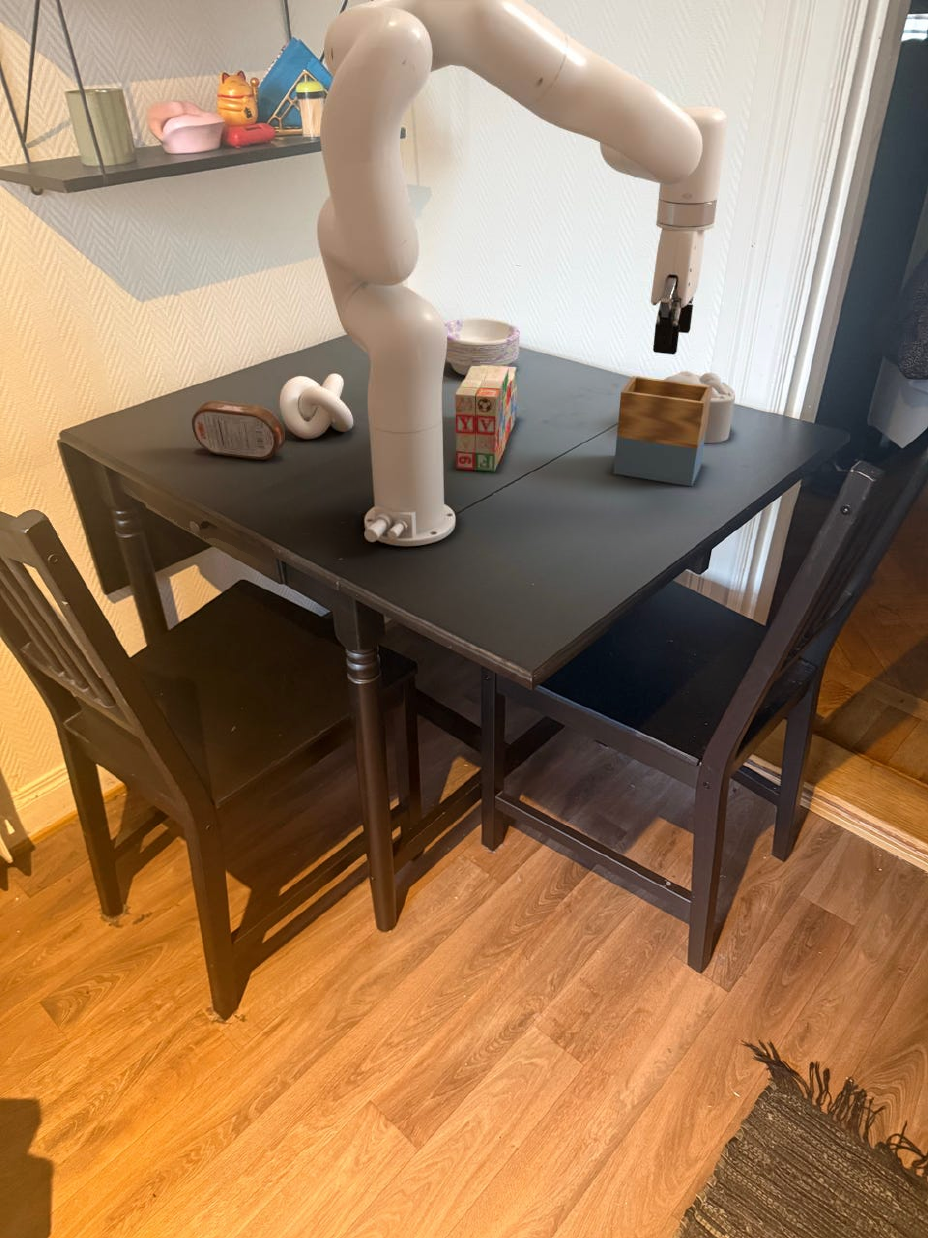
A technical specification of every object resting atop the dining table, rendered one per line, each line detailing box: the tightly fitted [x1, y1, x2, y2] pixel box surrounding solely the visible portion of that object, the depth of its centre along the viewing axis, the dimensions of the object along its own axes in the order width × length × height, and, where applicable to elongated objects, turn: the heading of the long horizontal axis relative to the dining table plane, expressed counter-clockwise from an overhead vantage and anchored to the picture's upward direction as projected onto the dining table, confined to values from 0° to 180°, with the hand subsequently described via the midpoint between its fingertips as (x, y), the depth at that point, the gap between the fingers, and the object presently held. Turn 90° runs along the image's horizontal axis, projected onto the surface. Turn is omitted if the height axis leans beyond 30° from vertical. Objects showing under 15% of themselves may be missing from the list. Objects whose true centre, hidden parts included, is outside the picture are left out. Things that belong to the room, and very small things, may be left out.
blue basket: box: [612, 432, 706, 487], centre depth 141 cm, size 12×7×6 cm, turn 68°
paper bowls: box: [444, 317, 521, 377], centre depth 178 cm, size 15×15×8 cm
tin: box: [191, 400, 286, 461], centre depth 146 cm, size 15×3×8 cm, turn 74°
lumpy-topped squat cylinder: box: [663, 370, 736, 444], centre depth 153 cm, size 10×13×9 cm
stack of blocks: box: [454, 365, 518, 473], centre depth 148 cm, size 21×6×12 cm, turn 168°
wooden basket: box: [616, 375, 713, 449], centre depth 137 cm, size 12×7×7 cm, turn 68°
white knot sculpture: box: [279, 373, 354, 440], centre depth 154 cm, size 11×12×9 cm
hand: (671, 341), depth 132 cm, fingers open, 9 cm apart
